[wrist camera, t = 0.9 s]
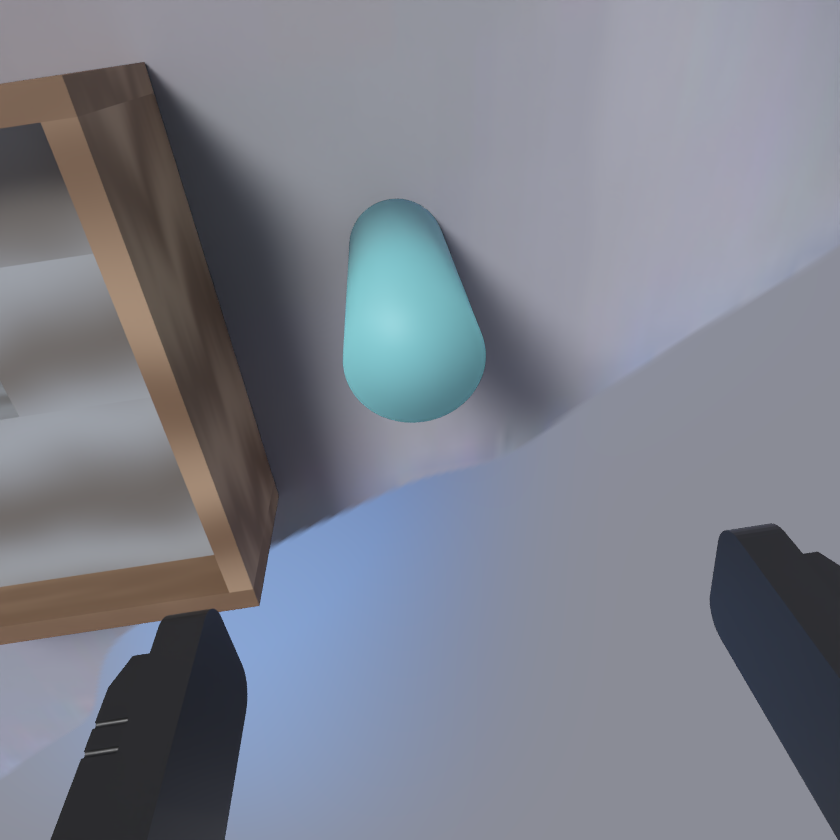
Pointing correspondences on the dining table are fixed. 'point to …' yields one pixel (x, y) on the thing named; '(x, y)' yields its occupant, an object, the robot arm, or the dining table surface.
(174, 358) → the bore box
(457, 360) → the peg
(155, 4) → the dining table surface
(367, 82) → the dining table surface
